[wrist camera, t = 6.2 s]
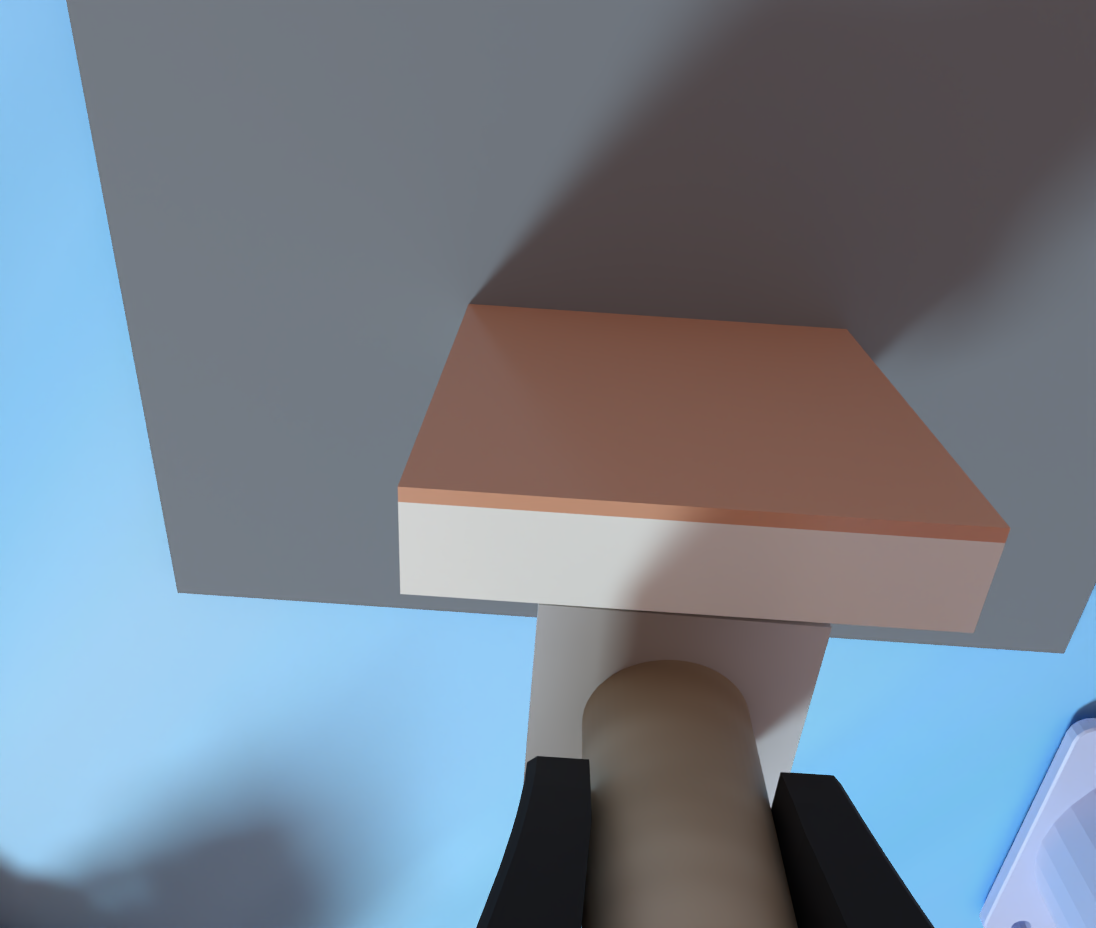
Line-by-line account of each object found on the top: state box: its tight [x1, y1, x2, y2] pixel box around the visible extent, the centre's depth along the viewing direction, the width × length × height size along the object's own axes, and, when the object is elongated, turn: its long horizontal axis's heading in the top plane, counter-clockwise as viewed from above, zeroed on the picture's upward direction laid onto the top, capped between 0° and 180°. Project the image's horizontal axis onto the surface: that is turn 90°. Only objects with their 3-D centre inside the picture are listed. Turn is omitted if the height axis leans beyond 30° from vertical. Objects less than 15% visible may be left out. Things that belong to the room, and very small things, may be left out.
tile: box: [398, 304, 1011, 633], centre depth 13 cm, size 7×2×7 cm, turn 87°
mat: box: [66, 0, 1096, 653], centre depth 16 cm, size 20×16×1 cm
